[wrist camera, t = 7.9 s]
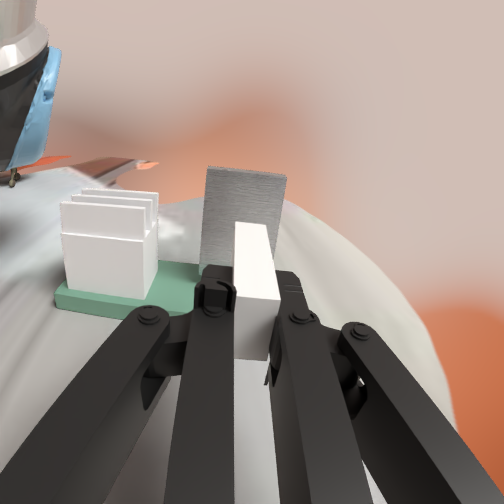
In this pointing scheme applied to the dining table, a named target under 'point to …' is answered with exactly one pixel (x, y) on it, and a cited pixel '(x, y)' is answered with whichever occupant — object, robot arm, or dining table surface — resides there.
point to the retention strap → (238, 209)
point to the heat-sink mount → (119, 257)
